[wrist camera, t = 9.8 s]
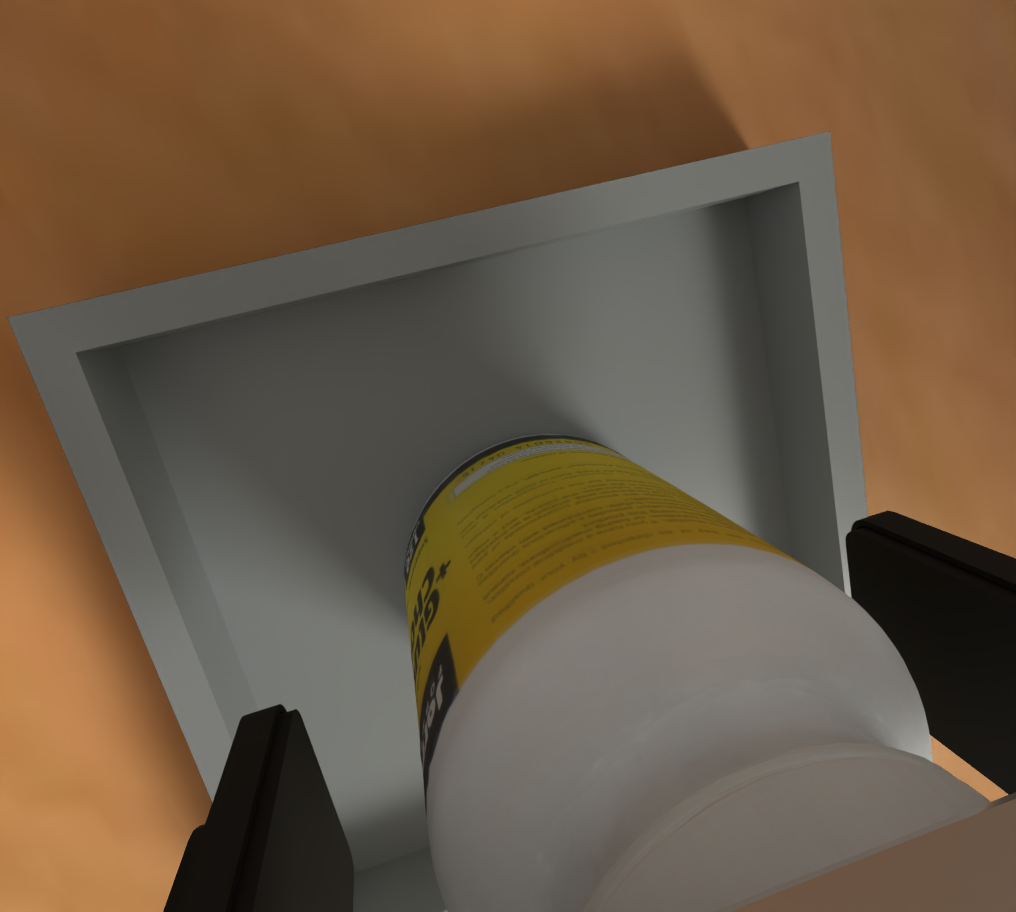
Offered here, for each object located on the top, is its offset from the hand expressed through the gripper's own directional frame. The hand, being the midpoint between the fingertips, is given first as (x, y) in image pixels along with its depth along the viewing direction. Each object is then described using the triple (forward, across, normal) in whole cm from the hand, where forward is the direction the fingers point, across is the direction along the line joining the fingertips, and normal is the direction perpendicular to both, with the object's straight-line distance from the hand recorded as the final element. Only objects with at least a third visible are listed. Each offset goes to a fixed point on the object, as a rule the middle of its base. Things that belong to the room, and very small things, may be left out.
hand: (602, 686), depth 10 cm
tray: (+6, 0, 0) cm, 6 cm away
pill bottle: (+6, 0, 0) cm, 6 cm away
